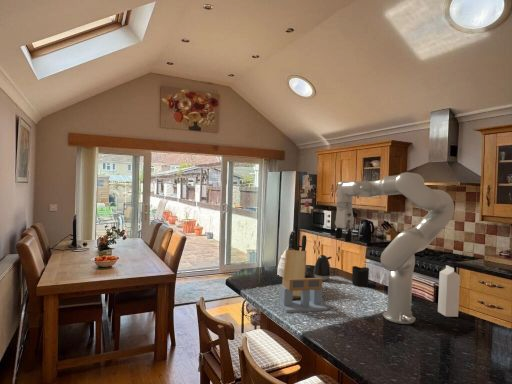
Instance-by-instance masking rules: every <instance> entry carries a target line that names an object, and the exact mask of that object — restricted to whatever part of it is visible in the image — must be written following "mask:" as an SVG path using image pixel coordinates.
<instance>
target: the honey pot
mask: <svg viewBox="0 0 512 384" xmlns="http://www.w3.org/2000/svg"><path fill="white" fill-rule="evenodd" d="M288 247H289V246H287V247H286V249H284V251H283V253H282V254H281V255H280V258H279V262H278V265H277V271H276V275H277V276H278V275H279V276H278V277H280V278H281V277H282V278H283V272H284V263H285V255H286V250H288Z"/></svg>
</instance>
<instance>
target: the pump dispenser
mask: <svg viewBox="0 0 512 384" xmlns="http://www.w3.org/2000/svg"><path fill="white" fill-rule="evenodd" d="M331 259H332V256H328V257H327V255H325V254H321V255H319V256H318V257H317V260H316V261H315V263H314V268H313V269H314V270H313V275H314V278H322V282H325V281H328V280H329V279H330V276H331V275H332V270H331V264H330V261H329V260H331Z"/></svg>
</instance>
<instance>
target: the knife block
mask: <svg viewBox="0 0 512 384" xmlns="http://www.w3.org/2000/svg"><path fill="white" fill-rule="evenodd" d="M295 241H296V231H293V230H292V231H291V232H290V234H289V238H288V246H287V247H288V250H286V249H285V250H286V255H285V263H284V272H283V277H282V284H281V285H283V281H286V282H288V279H296V278H306V268H307V267H306V266H307V265H306V264H307V250H306V247H307V235H302V236H301V245H297V246H296V242H295ZM299 248H301V250H300V249H299ZM293 300H294V301H298V300H301V290H298V291H293Z"/></svg>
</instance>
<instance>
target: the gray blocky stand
mask: <svg viewBox="0 0 512 384" xmlns="http://www.w3.org/2000/svg"><path fill="white" fill-rule="evenodd" d="M279 294H280V295H279V301H278V305H279V306H280V307H281V309H282V310H284V311H285V313H286V314H287V313H288V314H289V313H301V312H302V313H304V312H321V311H328V309H329V307H328V306H326V305H325V304H324V303H323V288H322V289H321V290H301V300H294V299H293V291H289V290H288V289H287V288H286V287H285V286H283V285H282V284H281V285H280V292H279Z"/></svg>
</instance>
